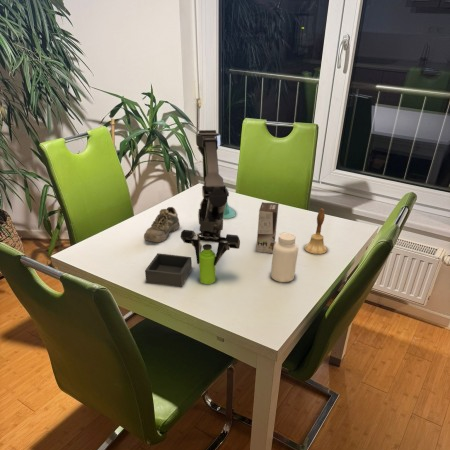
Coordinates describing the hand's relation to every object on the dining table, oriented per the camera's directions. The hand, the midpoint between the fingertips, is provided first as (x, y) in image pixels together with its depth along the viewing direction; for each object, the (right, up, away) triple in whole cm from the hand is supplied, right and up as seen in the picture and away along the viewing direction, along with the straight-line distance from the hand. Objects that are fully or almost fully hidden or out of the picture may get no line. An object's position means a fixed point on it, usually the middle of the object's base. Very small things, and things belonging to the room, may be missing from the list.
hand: (206, 264), depth 131 cm
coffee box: (+22, +9, +25) cm, 35 cm away
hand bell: (+40, +8, +25) cm, 48 cm away
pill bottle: (+25, -4, +7) cm, 27 cm away
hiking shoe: (-19, +15, +33) cm, 41 cm away
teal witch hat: (+3, +29, +55) cm, 62 cm away
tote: (-13, -3, +7) cm, 15 cm away
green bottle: (0, -5, +5) cm, 7 cm away
